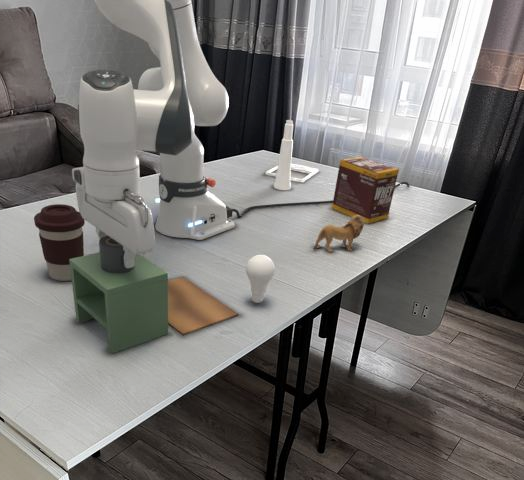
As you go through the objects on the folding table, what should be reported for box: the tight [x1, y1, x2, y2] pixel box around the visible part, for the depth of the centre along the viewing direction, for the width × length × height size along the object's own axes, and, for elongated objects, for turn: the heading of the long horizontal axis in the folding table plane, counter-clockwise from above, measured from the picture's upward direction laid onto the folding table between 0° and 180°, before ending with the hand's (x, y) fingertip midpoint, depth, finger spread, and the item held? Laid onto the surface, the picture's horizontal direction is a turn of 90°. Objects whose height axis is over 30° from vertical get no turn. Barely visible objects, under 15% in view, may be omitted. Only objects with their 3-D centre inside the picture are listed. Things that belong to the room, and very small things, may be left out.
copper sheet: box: [168, 276, 239, 336], centre depth 114 cm, size 14×20×1 cm
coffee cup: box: [33, 203, 86, 282], centre depth 117 cm, size 10×10×15 cm
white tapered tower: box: [273, 119, 294, 191], centre depth 182 cm, size 6×6×22 cm
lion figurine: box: [312, 215, 365, 253], centre depth 145 cm, size 15×5×9 cm, turn 116°
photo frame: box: [265, 162, 320, 184], centre depth 204 cm, size 15×1×18 cm
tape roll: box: [98, 236, 135, 273], centre depth 96 cm, size 6×6×5 cm
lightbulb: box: [245, 254, 276, 304], centre depth 115 cm, size 6×6×11 cm
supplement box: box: [331, 156, 400, 225], centre depth 169 cm, size 10×15×16 cm
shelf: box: [69, 251, 169, 354], centre depth 101 cm, size 12×14×13 cm
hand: (117, 258), depth 97 cm, fingers closed on tape roll, 6 cm apart
